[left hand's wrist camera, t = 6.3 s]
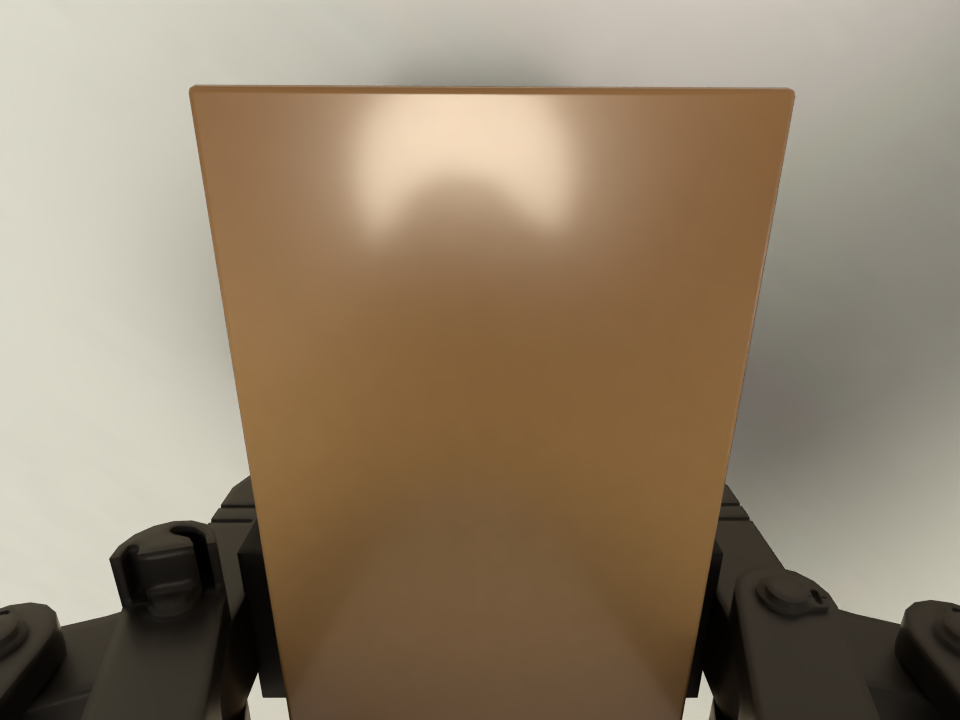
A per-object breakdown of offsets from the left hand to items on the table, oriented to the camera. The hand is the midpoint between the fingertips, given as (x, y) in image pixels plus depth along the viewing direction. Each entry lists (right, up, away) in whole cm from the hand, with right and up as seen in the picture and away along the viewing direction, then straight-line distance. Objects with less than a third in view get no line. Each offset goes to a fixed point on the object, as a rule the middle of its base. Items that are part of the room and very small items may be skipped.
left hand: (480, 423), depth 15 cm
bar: (0, -27, +12) cm, 29 cm away
